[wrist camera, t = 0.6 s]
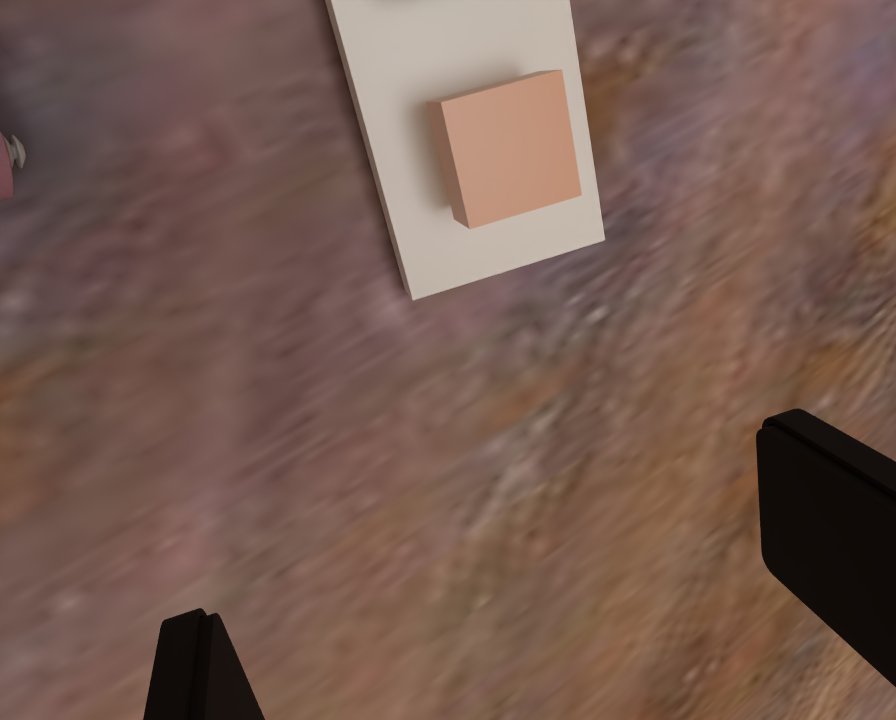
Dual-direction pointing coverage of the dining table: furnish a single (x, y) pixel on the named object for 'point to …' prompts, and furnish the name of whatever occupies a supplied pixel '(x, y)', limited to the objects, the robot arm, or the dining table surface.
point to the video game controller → (9, 164)
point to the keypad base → (412, 139)
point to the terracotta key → (506, 147)
